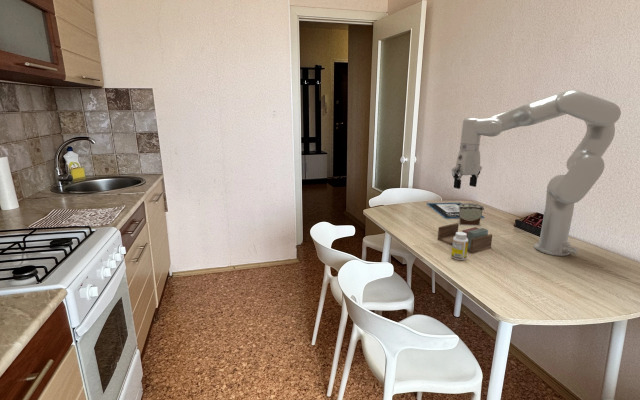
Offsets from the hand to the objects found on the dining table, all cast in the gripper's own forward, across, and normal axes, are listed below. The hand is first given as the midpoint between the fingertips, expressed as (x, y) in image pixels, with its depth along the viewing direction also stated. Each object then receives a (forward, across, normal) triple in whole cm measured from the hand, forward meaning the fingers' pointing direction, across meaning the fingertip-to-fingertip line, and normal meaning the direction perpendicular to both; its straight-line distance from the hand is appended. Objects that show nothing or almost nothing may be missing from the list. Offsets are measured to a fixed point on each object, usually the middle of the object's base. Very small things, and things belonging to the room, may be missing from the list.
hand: (464, 187), depth 152 cm
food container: (+24, +22, +14) cm, 36 cm away
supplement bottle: (+24, -17, -15) cm, 33 cm away
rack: (+24, -3, -5) cm, 25 cm away
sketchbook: (+25, +33, +34) cm, 53 cm away
